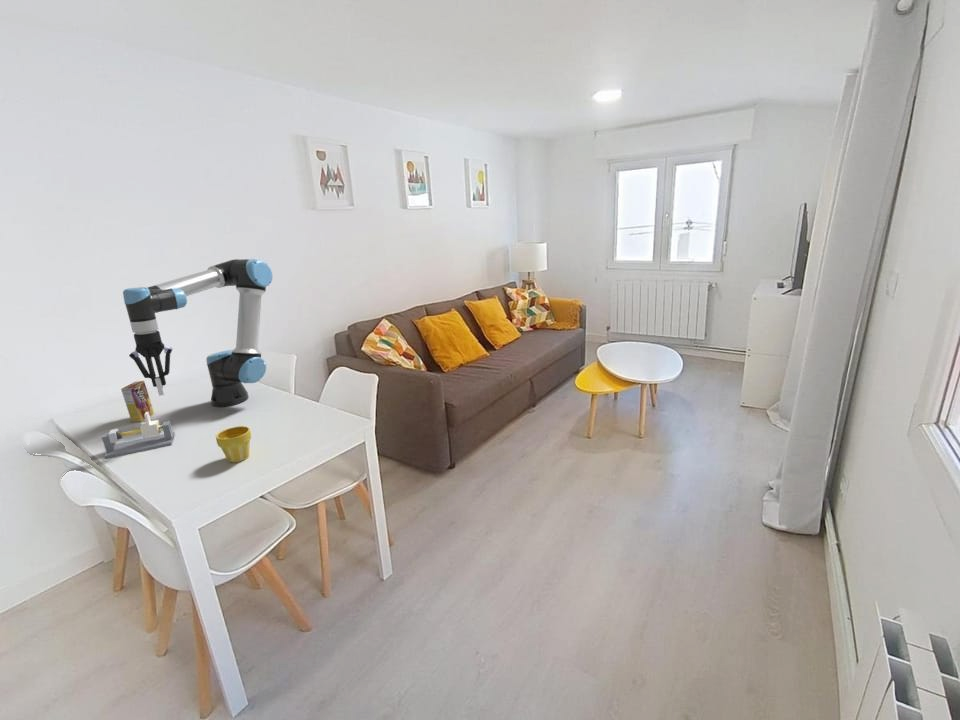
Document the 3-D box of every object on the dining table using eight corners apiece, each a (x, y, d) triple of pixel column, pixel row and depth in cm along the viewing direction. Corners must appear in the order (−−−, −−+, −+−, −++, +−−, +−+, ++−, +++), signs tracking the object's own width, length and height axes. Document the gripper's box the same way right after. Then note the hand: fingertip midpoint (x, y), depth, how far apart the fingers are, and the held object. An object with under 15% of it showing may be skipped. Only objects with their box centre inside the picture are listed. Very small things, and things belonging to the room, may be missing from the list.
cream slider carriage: (160, 430, 173) (155, 410, 170) (159, 434, 169) (153, 414, 166) (145, 433, 171) (139, 412, 168) (142, 438, 167) (136, 417, 164)
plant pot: (229, 451, 162) (224, 426, 159) (259, 449, 163) (254, 424, 160) (216, 466, 152) (209, 440, 149) (248, 464, 153) (242, 438, 150)
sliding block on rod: (175, 434, 178) (170, 416, 175) (171, 444, 169) (166, 425, 167) (112, 447, 169) (106, 428, 167) (105, 458, 161) (98, 438, 158)
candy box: (144, 413, 199) (135, 381, 195) (154, 413, 199) (145, 380, 195) (130, 422, 191) (120, 388, 186) (140, 421, 191) (131, 387, 186)
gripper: (169, 327, 167) (183, 387, 174) (126, 332, 161) (142, 394, 168) (166, 331, 160) (181, 393, 167) (121, 336, 155) (138, 400, 162)
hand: (162, 394), depth 168 cm, fingers closed
